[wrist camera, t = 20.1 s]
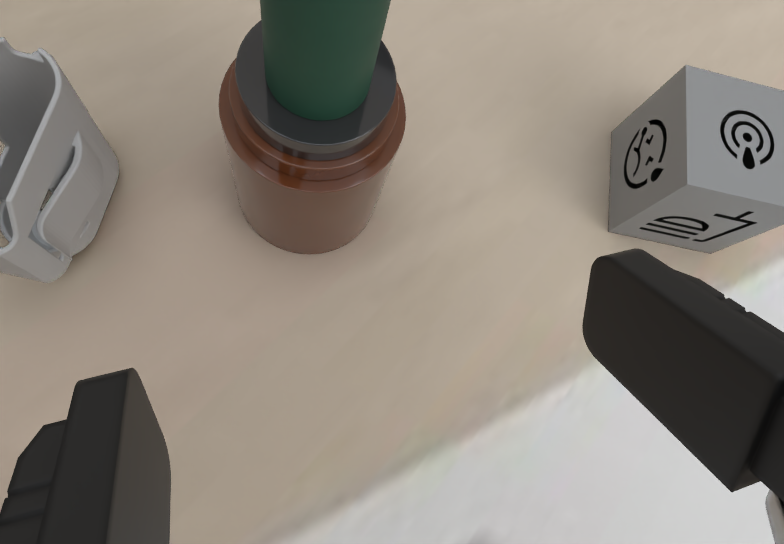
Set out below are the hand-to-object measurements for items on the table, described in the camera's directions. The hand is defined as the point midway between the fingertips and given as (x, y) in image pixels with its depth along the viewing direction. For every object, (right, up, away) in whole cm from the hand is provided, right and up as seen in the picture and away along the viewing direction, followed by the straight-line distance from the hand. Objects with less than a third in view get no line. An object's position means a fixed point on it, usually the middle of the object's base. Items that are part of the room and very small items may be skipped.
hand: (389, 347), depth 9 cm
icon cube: (+24, +9, +41) cm, 48 cm away
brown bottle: (-7, +8, +34) cm, 36 cm away
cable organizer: (-24, +5, +30) cm, 39 cm away
